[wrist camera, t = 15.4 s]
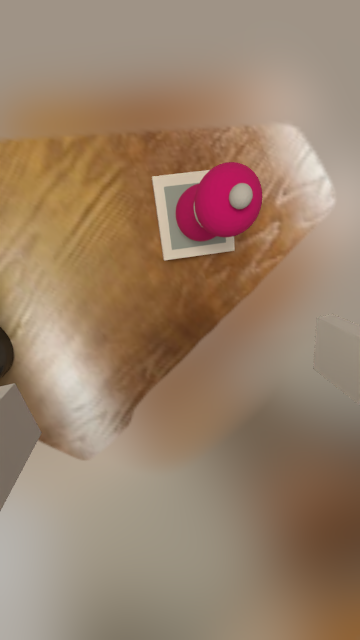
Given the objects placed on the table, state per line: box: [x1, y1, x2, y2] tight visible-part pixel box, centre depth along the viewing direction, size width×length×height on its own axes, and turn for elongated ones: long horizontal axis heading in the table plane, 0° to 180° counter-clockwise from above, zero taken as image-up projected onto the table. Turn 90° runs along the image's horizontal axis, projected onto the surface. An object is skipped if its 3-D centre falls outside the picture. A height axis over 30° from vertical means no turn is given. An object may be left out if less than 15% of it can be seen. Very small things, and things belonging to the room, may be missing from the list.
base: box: [152, 170, 235, 260], centre depth 37 cm, size 12×12×3 cm
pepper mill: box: [176, 162, 262, 241], centre depth 26 cm, size 7×7×20 cm
